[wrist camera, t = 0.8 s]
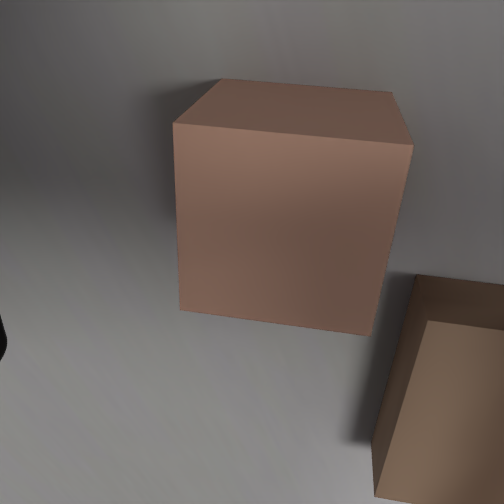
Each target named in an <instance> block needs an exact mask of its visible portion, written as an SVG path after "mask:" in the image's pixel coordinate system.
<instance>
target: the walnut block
mask: <svg viewBox="0 0 504 504" xmlns="http://www.w3.org/2000/svg"><path fill="white" fill-rule="evenodd" d="M371 449H372V466H373V482H374V497H378V498H384V499H389V500H395V501H400V502H406V503H411V504H504V285H499V284H491V283H483V282H475V281H467V280H459V279H451V278H443V277H435V276H427V275H419V274H417V275H416V278H415V282H414V286H413V289H412V293H411V297H410V300H409V304H408V308H407V312H406V315H405V319H404V323H403V326H402V330H401V334H400V337H399V341H398V345H397V348H396V352H395V356H394V360H393V363H392V367H391V371H390V374H389V378H388V382H387V385H386V389H385V393H384V396H383V400H382V404H381V408H380V411H379V415H378V419H377V422H376V426H375V430H374V433H373V437H372V441H371Z"/></svg>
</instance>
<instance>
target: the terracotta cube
mask: <svg viewBox="0 0 504 504" xmlns="http://www.w3.org/2000/svg"><path fill="white" fill-rule="evenodd" d="M173 146H174V171H175V196H176V221H177V246H178V271H179V296H180V310H184V311H191V312H198V313H205V314H212V315H219V316H227V317H234V318H241V319H248V320H255V321H263V322H270V323H277V324H284V325H291V326H298V327H306V328H313V329H320V330H327V331H334V332H342V333H349V334H356V335H363V336H370V337H371V333H372V328H373V324H374V320H375V315H376V311H377V306H378V302H379V298H380V293H381V289H382V284H383V280H384V276H385V271H386V267H387V263H388V258H389V254H390V249H391V245H392V241H393V236H394V232H395V227H396V223H397V219H398V214H399V210H400V206H401V201H402V197H403V192H404V188H405V184H406V179H407V175H408V170H409V166H410V162H411V157H412V153H413V148H414V144H413V141H412V139H411V137H410V134H409V132H408V130H407V127H406V125H405V122H404V120H403V118H402V115H401V113H400V110H399V108H398V106H397V103H396V101H395V99H394V96H393V94H392V92H382V91H369V90H357V89H345V88H333V87H320V86H308V85H296V84H283V83H271V82H259V81H247V80H234V79H221V80H220V81H219V82H218V83H216V84H215V85H214V86H213V87H212V88H211V89H210V90H209V91H208V92H206V93H205V94H204V95H203V96H202V97H201V98H200V99H199V100H197V101H196V102H195V103H194V104H193V105H192V106H191V107H190V108H189V109H187V110H186V111H185V112H184V113H183V114H182V115H181V116H180V117H179V118H177V119H176V120H175V121H174V122H173Z"/></svg>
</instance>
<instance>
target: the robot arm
mask: <svg viewBox="0 0 504 504" xmlns="http://www.w3.org/2000/svg"><path fill="white" fill-rule="evenodd" d="M6 347H7V336H6V333H5V330H4V326H3V323H2V319H1V316H0V361H1V359H2V357H3V355H4V353H5V351H6Z"/></svg>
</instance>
